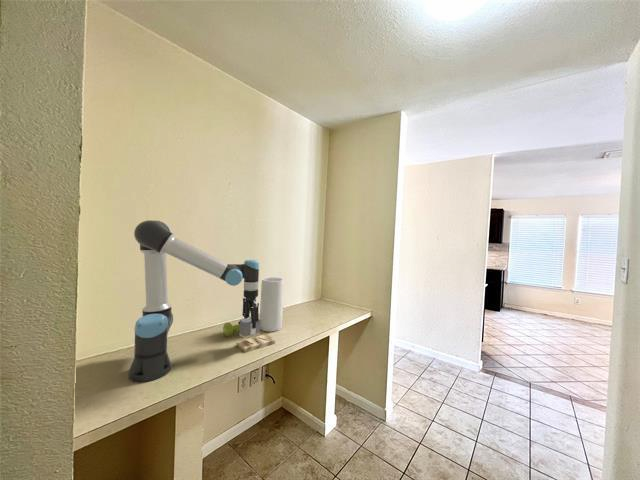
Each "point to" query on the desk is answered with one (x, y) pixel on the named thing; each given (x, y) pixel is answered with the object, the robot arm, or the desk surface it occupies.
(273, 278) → the vase
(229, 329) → the dumbbell
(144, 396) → the desk surface
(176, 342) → the desk surface
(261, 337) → the board
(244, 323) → the block
